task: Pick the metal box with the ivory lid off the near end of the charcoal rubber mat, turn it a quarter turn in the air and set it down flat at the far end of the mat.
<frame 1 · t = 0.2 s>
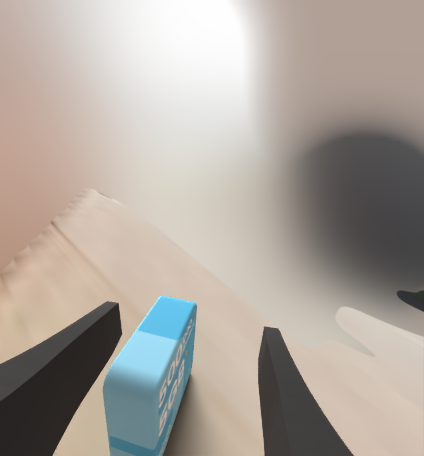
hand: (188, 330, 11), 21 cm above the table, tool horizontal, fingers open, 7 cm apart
data package: (159, 409, 27), on the table
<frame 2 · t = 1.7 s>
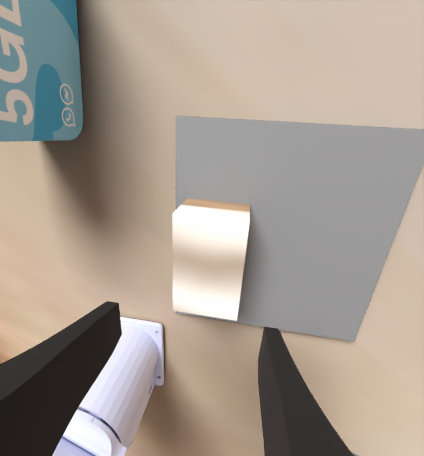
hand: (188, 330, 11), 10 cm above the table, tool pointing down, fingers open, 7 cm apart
metal box: (214, 246, 20), point 1 cm above the table, touching desk mat
desk mat: (275, 239, 20), on the table
data package: (54, 49, 17), on the table
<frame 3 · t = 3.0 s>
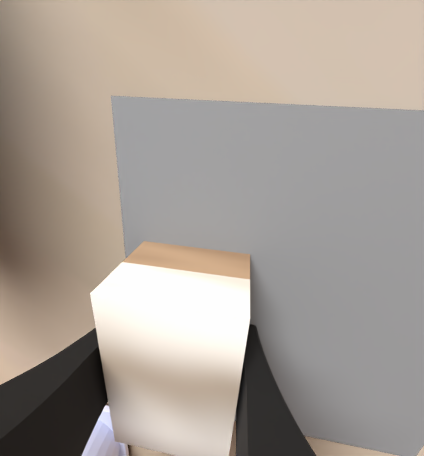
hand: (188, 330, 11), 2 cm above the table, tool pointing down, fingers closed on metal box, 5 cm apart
metal box: (192, 315, 12), point 1 cm above the table, touching desk mat, gripper
desk mat: (292, 307, 12), on the table
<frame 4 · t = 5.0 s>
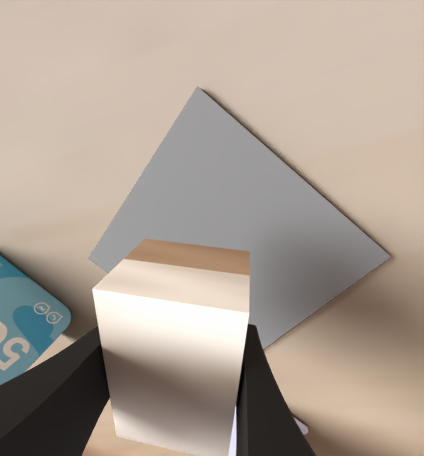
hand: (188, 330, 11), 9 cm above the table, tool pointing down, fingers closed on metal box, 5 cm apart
metal box: (193, 312, 12), point 8 cm above the table, touching gripper
desk mat: (223, 254, 20), on the table
data package: (26, 289, 25), on the table
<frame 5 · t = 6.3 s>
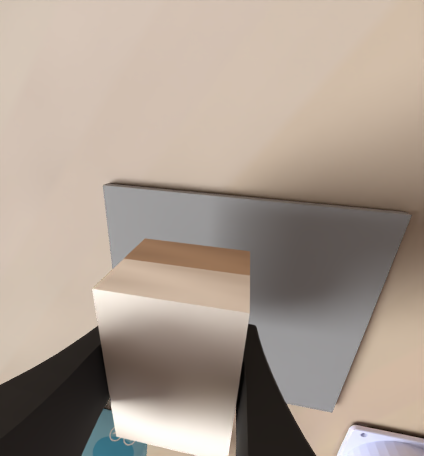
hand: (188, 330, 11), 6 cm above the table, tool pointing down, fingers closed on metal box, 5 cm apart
metal box: (193, 312, 12), point 5 cm above the table, touching gripper
desk mat: (232, 307, 17), on the table
data package: (101, 416, 26), on the table
when the fingers open (3 cm above the table, at t = 7.3 s): metal box drops 1 cm, resting on desk mat.
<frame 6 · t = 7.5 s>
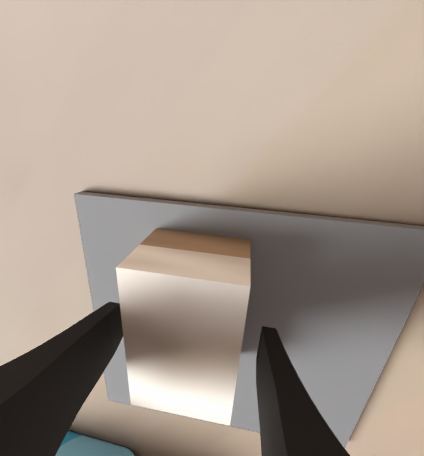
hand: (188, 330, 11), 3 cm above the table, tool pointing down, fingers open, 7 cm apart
metal box: (198, 296, 14), point 1 cm above the table, touching desk mat
desk mat: (229, 333, 15), on the table
data package: (86, 444, 23), on the table
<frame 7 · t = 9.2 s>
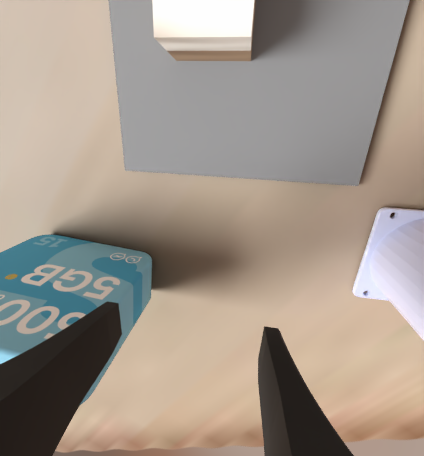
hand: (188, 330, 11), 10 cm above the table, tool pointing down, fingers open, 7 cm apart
desk mat: (244, 46, 15), on the table
data package: (101, 260, 24), on the table
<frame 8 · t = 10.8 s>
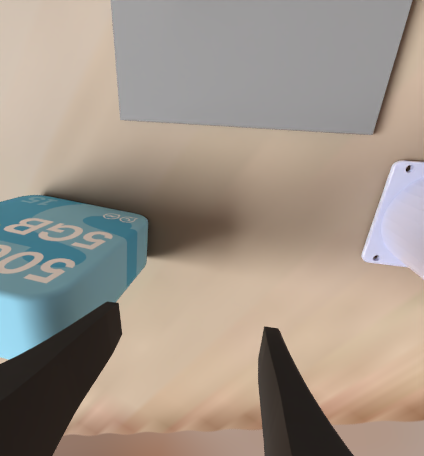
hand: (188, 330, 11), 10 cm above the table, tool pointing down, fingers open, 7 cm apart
data package: (94, 225, 22), on the table
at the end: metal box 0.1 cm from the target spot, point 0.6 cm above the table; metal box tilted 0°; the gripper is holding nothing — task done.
